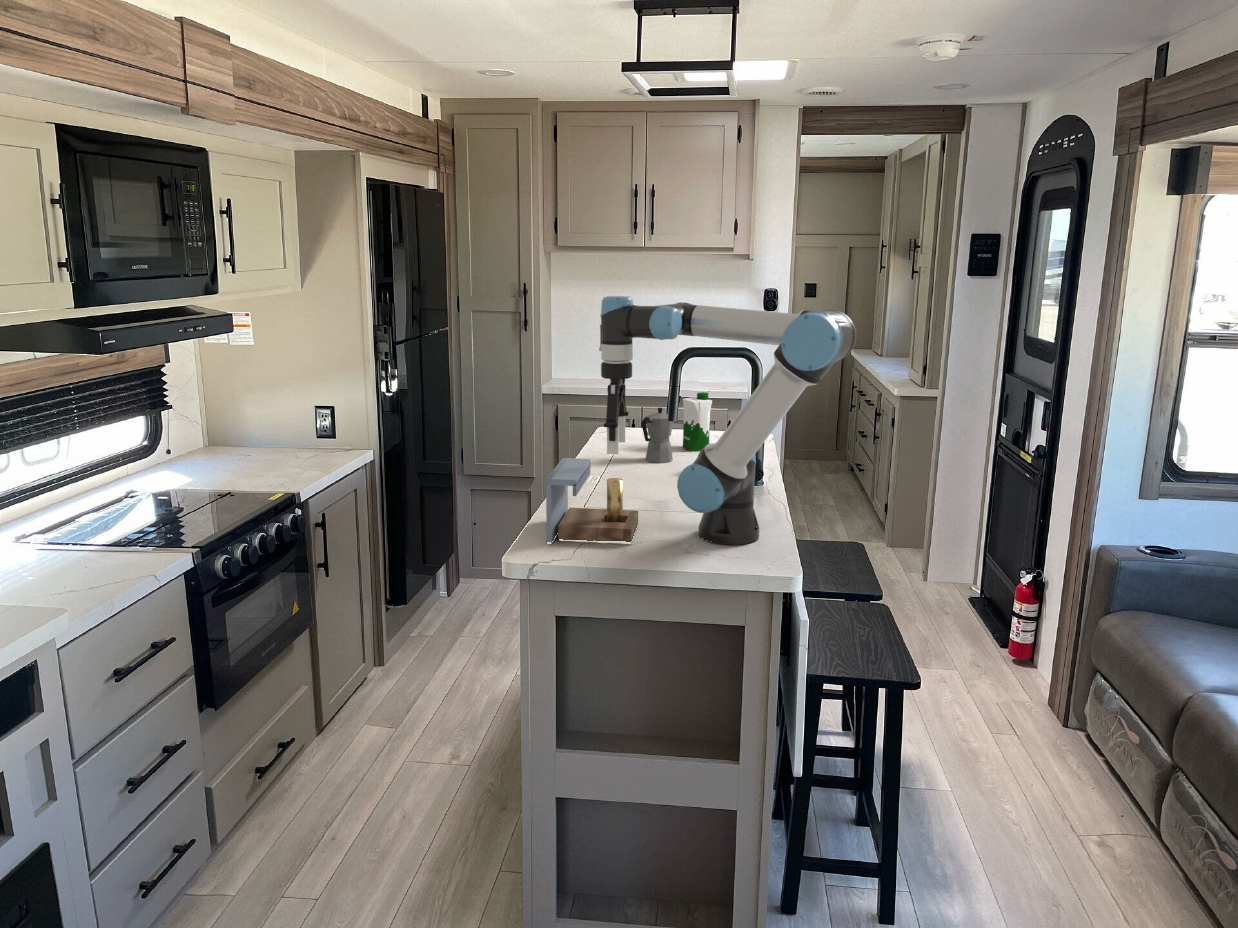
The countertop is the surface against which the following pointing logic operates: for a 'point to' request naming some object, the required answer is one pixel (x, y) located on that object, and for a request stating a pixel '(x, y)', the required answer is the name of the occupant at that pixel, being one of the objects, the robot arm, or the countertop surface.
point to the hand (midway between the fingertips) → (616, 447)
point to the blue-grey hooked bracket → (563, 490)
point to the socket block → (596, 525)
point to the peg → (615, 500)
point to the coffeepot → (658, 437)
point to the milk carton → (696, 422)
